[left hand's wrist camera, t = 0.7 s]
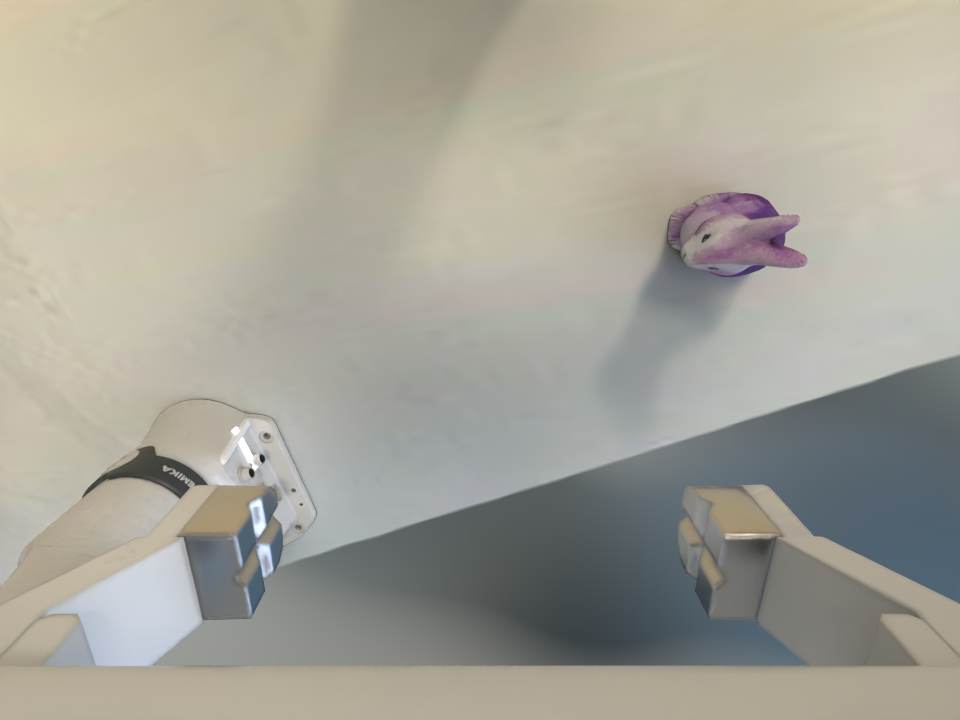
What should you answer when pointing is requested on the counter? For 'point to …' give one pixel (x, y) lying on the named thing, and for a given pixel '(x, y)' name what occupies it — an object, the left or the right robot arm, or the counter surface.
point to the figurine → (733, 235)
